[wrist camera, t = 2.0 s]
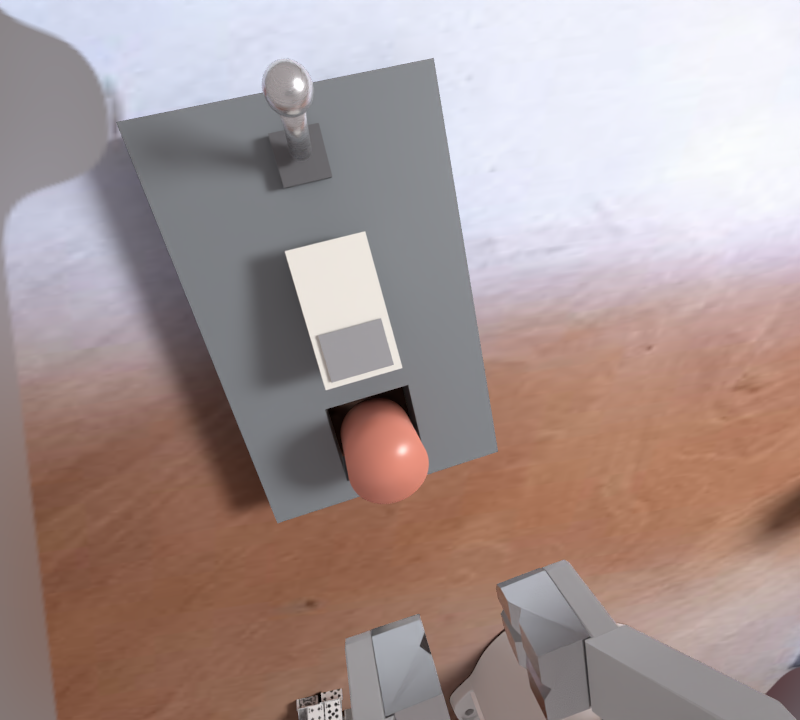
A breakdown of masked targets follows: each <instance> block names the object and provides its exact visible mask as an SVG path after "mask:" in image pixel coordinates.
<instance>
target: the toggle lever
mask: <svg viewBox="0 0 800 720" xmlns="http://www.w3.org/2000/svg"><path fill="white" fill-rule="evenodd" d="M262 91H263V95H264V98H265V100H266V102H267V103H268V105H269V106H270V107H271V109H272V110H274V111H275V112H276V113H277V114H279V115H280V116H281V120H282V124H283V128H284V132H285V136H286V140H287V144H288V149H289V152H290V155H291V156H292V158H293V159H295V160H296V161H299V162H303V161H306V160H307V159H308V158H309V157H310V155H311V144H310V137H309V130H308V123H307V116H306V111H307V110H308V109H309V108H310V106H311V104H312V101H313V97H314V86H313V82H312V79H311V77H310V75H309V73H308V72H307V70H306V69H305V68H304V67H303V66H302V65H301V64H299V63H298V62H296V61H294V60H291V59H279V60H276V61H274V62H272V63H271V64H270V65H269V66H268V67H267V69H266V70H265V72H264V75H263V78H262Z"/></svg>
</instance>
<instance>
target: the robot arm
mask: <svg viewBox="0 0 800 720" xmlns="http://www.w3.org/2000/svg"><path fill="white" fill-rule="evenodd" d="M496 590H497V596H498V599H499V601H500V603H501V605H502V607H503V611H502V613H501V617H502V621H503V625H504V629H505V631H504V632H503V633H502V634H501V635H499V636H498V637H497V638H496V639H495V640H494V641H493V642H492V643H491V644H490V645H489V647H488V648H487V649H486V650H485V652H484V653H483V655H482V656H481V658H480V659H479V661H478V663H477V665H476V667H475V669H474V671H473V672H472V674H471V675H470V677H469V678H468V679H467V680H466V681H464V682H463V683H462V684H461V685H460V686H459V687H458V688H457V689H456V690H455V691H454V693H453V694H452V695H451V697H450V704H451V706H452V708H453V711H454V713H455V715H456V716H457V718H458V719H459V720H796V719H795V718H794V717H793V716H792V714H791V713H790V712H789V711H788V710H787V709H786V708H785V707H784V706H783V705H782V704H781V703H780V702H778V701H777V700H775V699H773V698H771V697H769V696H767V695H765V694H763V693H761V692H759V691H757V690H755V689H753V688H751V687H749V686H747V685H745V684H743V683H741V682H739V681H737V680H735V679H733V678H731V677H729V676H727V675H725V674H724V673H722V672H720V671H718V670H716V669H714V668H712V667H710V666H708V665H706V664H704V663H702V662H700V661H698V660H696V659H694V658H692V657H690V656H688V655H686V654H684V653H682V652H680V651H678V650H676V649H674V648H672V647H670V646H668V645H666V644H664V643H662V642H660V641H658V640H656V639H654V638H652V637H650V636H648V635H646V634H644V633H642V632H640V631H638V630H636V629H634V628H632V627H630V626H628V625H624V624H618V623H616V622H615V621H614V620H613V618H612V617H611V616H610V615H609V613H608V612H607V611H606V609H605V608H604V607H603V606H602V604H601V603H600V602H599V600H598V599H597V598H596V597H595V595H594V594H593V593H592V591H591V590H590V589H589V587H588V586H587V585H586V584H585V582H584V581H583V580H582V578H581V577H580V576H579V575H578V573H577V572H576V571H575V569H574V568H573V567H572V566H571V564H570V563H569V562H567V561H566V560H562V561H559V562H556V563H553V564H551V565H548V566H545V567H542V568H538V569H536V570H533V571H530V572H528V573H525V574H522V575H520V576H517V577H515V578H512V579H509V580H507V581H504V582H502V583H499V584H497V586H496ZM345 653H346V662H347V671H348V681H349V690H350V700H351V709H352V718H353V720H450V716H449V713H448V709H447V706H446V702H445V699H444V696H443V692H442V689H441V685H440V682H439V679H438V675H437V672H436V668H435V665H434V662H433V658H432V655H431V652H430V648H429V645H428V642H427V638H426V635H425V632H424V628H423V625H422V622H421V618H420V615H419V614H417V615H414V616H411V617H408V618H405V619H402V620H399V621H396V622H393V623H390V624H387V625H384V626H381V627H378V628H375V629H372V630H369V631H366V632H364V633H361V634H358V635H355V636H352V637H349V638H346V642H345Z"/></svg>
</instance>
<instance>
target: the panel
mask: <svg viewBox="0 0 800 720" xmlns="http://www.w3.org/2000/svg"><path fill="white" fill-rule="evenodd" d="M313 86H314V97H313V101H312V104H311V106H310V108H309V109H308V110H307V111H306V116H307V123H308V130H309V137H310V144H311V155H310V157H309V158H308V159H307V160H306V161H303V162H299V161H296V160H295V159H293V158H292V156H291V155H290V152H289V149H288V144H287V140H286V136H285V132H284V128H283V124H282V120H281V116H280V115H279V114H277V113H276V112H275V111H274V110H272V109H271V107H270V106H269V105H268V103H267V102H266V100H265V98H264V95H263V93H258V94H253V95H248V96H243V97H238V98H233V99H229V100H224V101H219V102H214V103H209V104H204V105H199V106H194V107H189V108H184V109H179V110H174V111H169V112H164V113H159V114H154V115H149V116H144V117H139V118H134V119H129V120H125V121H120V122H116V123H117V125H118V128H119V130H120V133H121V135H122V138H123V140H124V143H125V145H126V148H127V150H128V153H129V155H130V158H131V160H132V163H133V165H134V167H135V170H136V172H137V175H138V177H139V180H140V182H141V185H142V187H143V190H144V192H145V195H146V197H147V200H148V202H149V205H150V207H151V210H152V212H153V215H154V217H155V220H156V222H157V225H158V227H159V230H160V232H161V235H162V237H163V240H164V242H165V245H166V247H167V250H168V252H169V254H170V257H171V259H172V262H173V264H174V267H175V269H176V272H177V274H178V277H179V279H180V282H181V284H182V287H183V289H184V292H185V294H186V297H187V299H188V302H189V304H190V307H191V309H192V312H193V314H194V317H195V319H196V322H197V324H198V327H199V329H200V332H201V334H202V337H203V339H204V341H205V344H206V346H207V349H208V351H209V354H210V356H211V359H212V361H213V364H214V366H215V369H216V371H217V374H218V376H219V379H220V381H221V384H222V386H223V389H224V391H225V394H226V396H227V399H228V401H229V404H230V406H231V409H232V411H233V414H234V416H235V419H236V421H237V424H238V426H239V429H240V431H241V433H242V436H243V438H244V441H245V443H246V446H247V448H248V451H249V453H250V456H251V458H252V461H253V463H254V466H255V468H256V471H257V473H258V476H259V478H260V481H261V483H262V486H263V488H264V491H265V493H266V496H267V498H268V501H269V503H270V506H271V508H272V511H273V513H274V516H275V518H276V520H277V523H280V522H283V521H286V520H289V519H292V518H295V517H298V516H301V515H304V514H307V513H310V512H313V511H316V510H320V509H323V508H326V507H329V506H332V505H335V504H338V503H341V502H344V501H347V500H350V499H353V498H356V497H360V496H359V495H358V494H357V493H356V492H355V491H354V489H353V488H352V486H351V484H350V481H349V476H348V471H347V466H346V461H345V456H342V453H341V450H340V447H339V444H338V440H337V437H336V434H335V431H334V428H333V424H332V421H331V418H330V415H329V412H328V409H329V408H332V407H335V406H339V405H342V404H345V403H349V402H352V401H355V400H359V399H362V398H366V397H369V396H372V395H376V394H379V393H382V392H386V391H389V390H393V389H396V388H399V387H402V388H403V392H404V396H405V400H406V405H407V409H408V413H409V417H410V421H411V423H412V425H413V427H414V429H415V431H416V433H417V435H418V436H419V438H420V440H421V442H422V444H423V446H424V448H425V450H426V452H427V455H428V459H429V467H428V472H427V474H430V473H433V472H436V471H440V470H443V469H446V468H449V467H452V466H455V465H458V464H461V463H464V462H467V461H470V460H473V459H476V458H480V457H483V456H486V455H489V454H492V453H495V452H498V449H497V443H496V437H495V431H494V425H493V418H492V412H491V406H490V400H489V394H488V388H487V382H486V376H485V369H484V363H483V357H482V351H481V345H480V339H479V333H478V327H477V321H476V314H475V308H474V302H473V296H472V290H471V284H470V278H469V272H468V265H467V259H466V253H465V247H464V241H463V235H462V229H461V223H460V217H459V210H458V204H457V198H456V192H455V186H454V180H453V174H452V168H451V161H450V155H449V149H448V143H447V137H446V131H445V125H444V119H443V113H442V106H441V100H440V94H439V88H438V82H437V76H436V70H435V64H434V58H432V59H427V60H422V61H417V62H412V63H407V64H402V65H397V66H392V67H387V68H382V69H377V70H372V71H367V72H362V73H357V74H352V75H347V76H342V77H337V78H333V79H328V80H323V81H318V82H313ZM364 231H365V232H366V236H367V240H368V243H369V247H370V251H371V254H372V258H373V262H374V265H375V269H376V273H377V276H378V280H379V284H380V287H381V291H382V295H383V298H384V302H385V306H386V309H387V313H388V316H389V320H390V324H391V327H392V331H393V335H394V338H395V342H396V346H397V349H398V353H399V357H400V360H401V364H402V368H401V369H397V370H394V371H390V372H387V373H384V374H380V375H377V376H373V377H370V378H366V379H363V380H360V381H356V382H353V383H349V384H346V385H342V386H339V387H336V388H332V389H329V390H325V386H324V383H323V380H322V376H321V373H320V369H319V366H318V363H317V359H316V356H315V352H314V349H313V346H312V342H311V339H310V335H309V332H308V329H307V325H306V322H305V318H304V315H303V312H302V308H301V305H300V301H299V298H298V295H297V291H296V288H295V285H294V281H293V278H292V274H291V271H290V268H289V264H288V261H287V257H286V254H285V251H287V250H292V249H296V248H300V247H304V246H308V245H312V244H316V243H320V242H324V241H328V240H332V239H336V238H340V237H344V236H348V235H352V234H356V233H360V232H364Z"/></svg>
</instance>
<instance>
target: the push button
mask: <svg viewBox="0 0 800 720" xmlns="http://www.w3.org/2000/svg"><path fill="white" fill-rule="evenodd" d="M341 440H342V445H343V450H344V456H345V461H346V466H347V471H348V476H349V481H350V484H351V486H352V488H353V489H354V491H355V492H356V493H357V494H358V495H359V496H360V497H362V498H363V499H365V500H367V501H370V502H373V503H378V504H389V503H394V502H398V501H401V500H403V499H405V498H407V497H409V496H410V495H412V494H413V493H414V492H415V491H416V490H417V489H418V488H419V487H420V486H421V485H422V483H423V482H424V480H425V478H426V475H427V472H428V467H429V459H428V455H427V452H426V450H425V448H424V446H423V444H422V442H421V440H420V438H419V436H418V435H417V433H416V431H415V429H414V427H413V425H412V423H411V421H410V420H409V418H408V416H407V414H406V412H405V411H404V409H403V408H402V407H401V406H400V405H398V404H397V403H395V402H394V401H391V400H388V399H384V398H373V399H368V400H365V401H362V402H360V403H358V404H357V405H355V406H354V407H353V408H352V409H351V410H350V411H349V412H348V413H347V415H346V416H345V418H344V420H343V422H342V425H341Z"/></svg>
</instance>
